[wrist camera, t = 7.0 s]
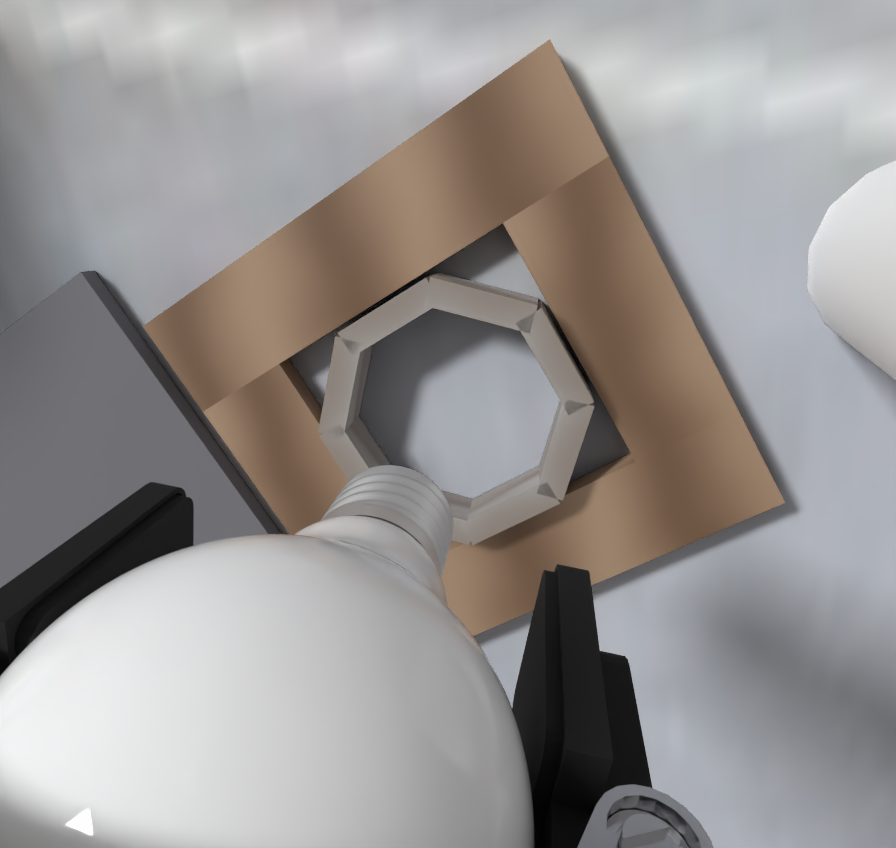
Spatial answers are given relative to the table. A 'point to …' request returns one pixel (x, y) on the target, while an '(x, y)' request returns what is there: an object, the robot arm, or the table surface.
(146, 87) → the table surface
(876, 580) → the table surface
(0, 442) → the rubber mat
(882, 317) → the foam cup
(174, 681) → the lightbulb
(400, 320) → the socket plate
